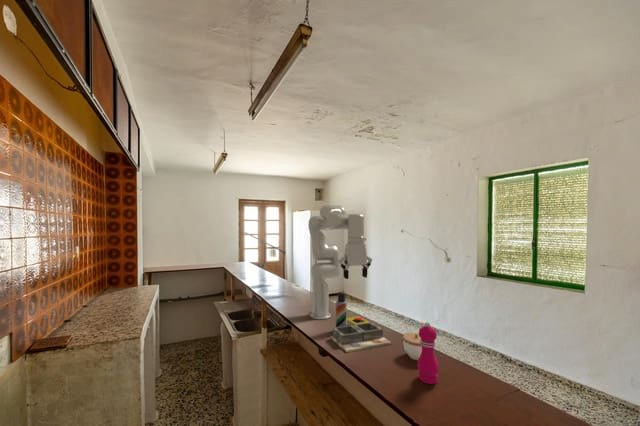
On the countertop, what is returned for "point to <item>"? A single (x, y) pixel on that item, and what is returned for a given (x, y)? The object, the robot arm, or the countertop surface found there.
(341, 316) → the lotion bottle
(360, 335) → the socket board
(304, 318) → the countertop surface
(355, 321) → the emergency button
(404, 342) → the lidded jar
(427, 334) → the pepper mill
